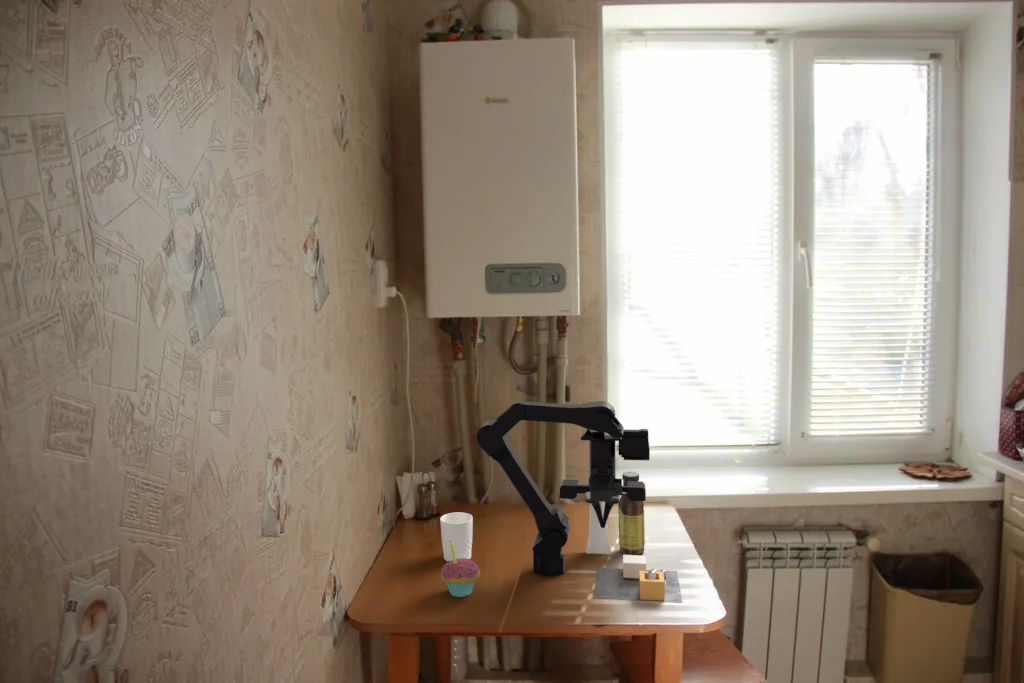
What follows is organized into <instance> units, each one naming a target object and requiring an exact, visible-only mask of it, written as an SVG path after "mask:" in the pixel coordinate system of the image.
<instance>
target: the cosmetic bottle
mask: <svg viewBox="0 0 1024 683" xmlns="http://www.w3.org/2000/svg"><path fill="white" fill-rule="evenodd" d="M601 507H602V515H604V507H605V502H601ZM588 522H589V523H588V526H589V527H588V535H587V536H588V537H587V544H586V551H585V553H586V554H593V555H612V550H611V546H610V538H609V537H610V536H609V526H608V521H607V522H606V525H605V528H601V526H600V523H599V520H598V517H597V514H596V512H595V510H594V508H593V506H592V505H591V503H589V520H588Z"/></svg>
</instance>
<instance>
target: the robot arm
mask: <svg viewBox="0 0 1024 683" xmlns="http://www.w3.org/2000/svg"><path fill="white" fill-rule="evenodd" d="M521 421H528V422H529V421H531V422H532V421H533V422H542V423H543V422H545V423H557V424H571V425H575V426H579V427H581V428H583V429H585V431H584V432H582V433H581V436H580V440H581V441H589V442H588V443H589V445H588V446H589V449H588V450H589V451H588V452H589V454H588V455H589V456H588V457H589V460H588V461H589V478H588V484H580V481H579V479H563V480H562V481H561V482H560V485H559V498H560V499H561V500H563V499H564V500H574V499H575V498H577V497H578V494H580V495H582V494H584V495H585V502H586V503H587V504H590V503H591V505H592V506H593V508H594V510H595V512H596V514H597V517H598V520H599V523H600V526H601V528H605V525H606V522H607V523H608V519H609V516H610V513H611V510H612V508H613V507H614V506H615V505H617V504H619V501H620V498H621V495H628V498H629V499H630V500H631V501H644V502H646V500H647V498H646V495H647V494H646V493H647V492H646V484H645V483H644V481H638V482H637V481H627V486H623V479H622V478H617V477H616V476H617V474H616V442H618V456H621V458H622V459H623V460H624V461H650V455H651V454H650V451H651V450H650V440H649V429H648V428H641V429H640V428H639V429H624V426H623V424H622V423H621V422H620V421H619V419H618V418H617V417H616V410H615V408H614V406H613V405H612V404H611V403H610V402H608V401H604V400H600V401H598V400H597V401H590V402H589V401H588V402H585V403H584V402H583V403H579V404H566V403H565V404H563V403H552V402H537V401H525V400H522V399H517V400H515V401H514V402H513V403H512V404H511V405H510V407H508V408H507V409H505V411H504V412H503V413H501V414H500V415H499V416H498V417H497V418H496V419H495V418H494V419H489V420H487V421H485V422H484V424H483V425H482V426H481V427H480V428H479V429H478V431H477V433H476V442H477V444H478V446H479V447H480V448H481V449H482V450H483V451H484V452H485V454H486V455H487V456H489V458H491V459H492V460H494V461H495V462H497V463H498V464H499V466H500V467H501V468H502V470H503V472H504V473H505V475H506V476H507V478H508V479H509V480H510V482H511V484H512V486H513V487H514V488H515V490H516V491H517V493H518V494H519V496H520V497H521V498H522V500H523V502H524V503H525V505H526V506H527V508H528V509H529V511H530V513H532V515H533V518H534V522H535V525H536V528H537V531H538V533H537V534H536V536H535V539H534V542H533V545H532V560H533V561H532V562H533V565H532V568H533V569H532V570H533V572H532V573H533V574H536V575H538V576H540V577H548V578H550V577H555V576H561V575H564V574H565V554H563V547H564V546H565V545H566V544H567V542H568V537H569V533H570V522H569V521H570V517H569V516H568V515H566V513H565V512H564V510H563V508H562V505H561V504H559V503H558V504H557V506H554V505H552V504H550V502H549V501H548V500H547V498H546V497H545V496H544V494H543V492H542V491H541V489H540V488H539V487H538V484H536V482H535V480H534V479H533V478H532V476H531V474H530V472H528V470H527V469H526V467H525V465H524V464H523V463H522V461H521V459H520V458H519V456H518V455H517V454H516V452H515V450H514V446H513V442H512V439H511V436H510V434H509V432H510V431H511V430H512V429H513V428H514V427H515V426H516V425H518V423H520V422H521ZM601 502H605V507H604V515H602V507H601Z"/></svg>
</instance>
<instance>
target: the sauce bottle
mask: <svg viewBox="0 0 1024 683" xmlns="http://www.w3.org/2000/svg"><path fill="white" fill-rule="evenodd" d="M621 475H622V476H621V477H622V478H621V479H622V486H627V481H637V482H640V473H639V472H636V471H625V472H623V473H622V474H621ZM644 504H645V501H631V500H630V499H629V498H628V495H620V497H619V503H618V545H619V550H620V552H621V553H622V554H624V555H642V554H643V553H644V551H645V544H646V541H645V540H646V539H645V534H646V533H645V531H646V530H645V508H644V506H645V505H644Z"/></svg>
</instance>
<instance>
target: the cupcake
mask: <svg viewBox="0 0 1024 683" xmlns="http://www.w3.org/2000/svg"><path fill="white" fill-rule="evenodd" d="M450 543H451V540H450ZM450 546H451V552H452V557H453V560H451V561H449V562H448V561H447V562H446V563H444V565H443V566H442V567H441V568H440V569H441V571H440V578H441V580H443V581H444V583H446V586H447V588H448V590H449V594H450V595H451V596H453V597H457V598H463V597H464V598H465V597H467V596H469V595H471V594H472V593H473V588H474V585H475V582H476V581H478V580H479V579H480V576H481V570H480V566H479V565H478V563H476V562H475V561H474V560H472V559H471V558H470V559H465V558H463V559H459V558H457V559H456V556H455V551H454V546H453V543H451V544H450Z"/></svg>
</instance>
